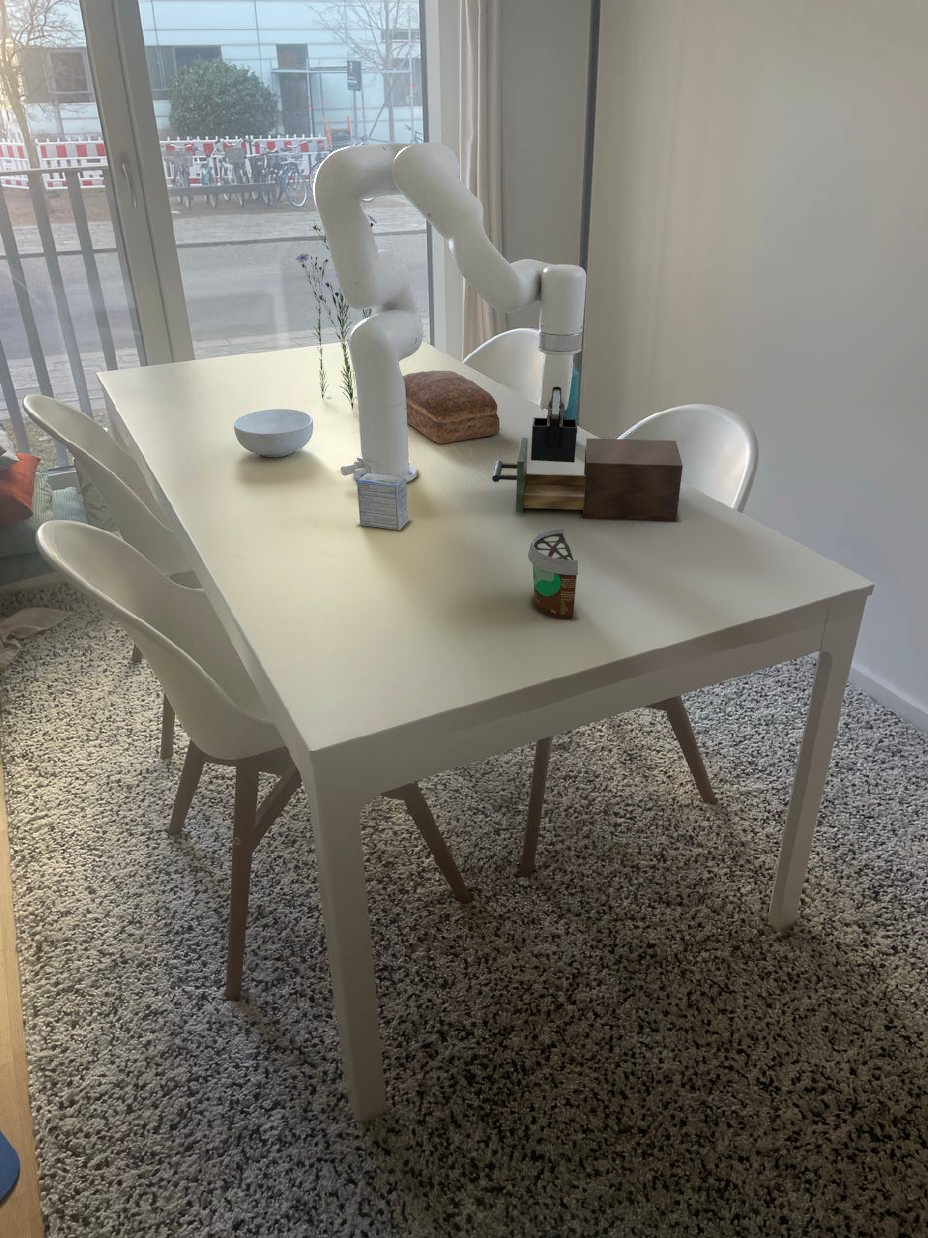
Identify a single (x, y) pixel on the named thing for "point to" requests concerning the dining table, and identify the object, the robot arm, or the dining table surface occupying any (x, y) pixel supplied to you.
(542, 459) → the dark glass display case
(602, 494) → the cabinet
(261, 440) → the cereal bowl
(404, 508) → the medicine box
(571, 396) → the beverage bottle
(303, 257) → the wildflower
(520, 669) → the dining table surface
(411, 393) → the bread
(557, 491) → the drawer
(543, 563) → the food container
